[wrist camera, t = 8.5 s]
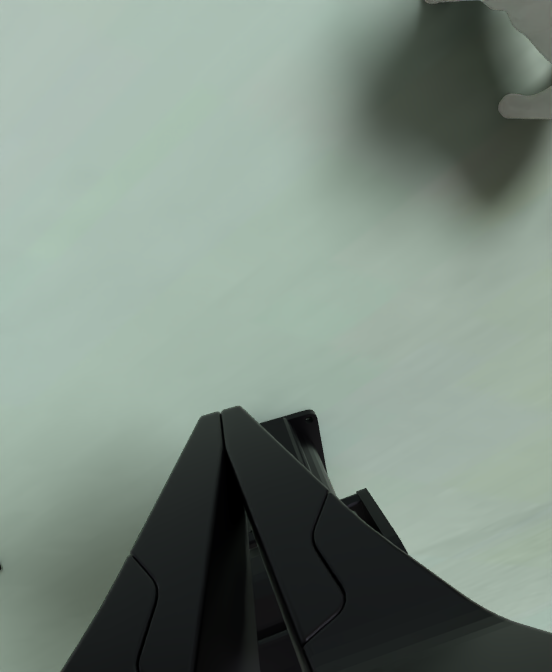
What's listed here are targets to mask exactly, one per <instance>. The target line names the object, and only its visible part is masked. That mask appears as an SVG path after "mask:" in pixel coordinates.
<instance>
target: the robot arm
mask: <svg viewBox="0 0 552 672" xmlns="http://www.w3.org/2000/svg"><path fill="white" fill-rule="evenodd" d="M308 417H311V418H310V419H308V420H306V418H308ZM130 554H131V555H129V556H128V557H127V559H126V561H125V563H124V565H123V567H122V569H121V571H120V572H119V574H118V576H117V578H116V580H115V582H114V584H113V585H112V587H111V589H110V591H109V593H108V594H107V596H106V598H105V600H104V602H103V604H102V605H101V607H100V609H99V611H98V612H97V614H96V615H95V617H94V619H93V620H92V622H91V624H90V625H89V627H88V629H87V630H86V632H85V633H84V635H83V637H82V638H81V640H80V642H79V643H78V645H77V647H76V648H75V650H74V651H73V653H72V654H71V656H70V658H69V659H68V661H67V662H66V664H65V665H64V667H63V669H62V670H61V672H552V633H550V632H546V631H543V630H540V629H537V628H533V627H530V626H527V625H523V624H520V623H517V622H514V621H511V620H509V619H506V618H504V617H502V616H499V615H497V614H495V613H493V612H491V611H489V610H487V609H485V608H484V607H482V606H480V605H479V604H477V603H475V602H474V601H472V600H471V599H469V598H468V597H466V596H465V595H463V594H462V593H460V592H459V591H458V590H456V589H455V588H453V587H452V586H451V585H449V584H448V583H446V582H445V581H444V580H442V579H441V578H440V577H438V576H437V575H435V574H434V573H433V572H431V571H430V570H429V569H427V568H426V567H424V566H423V565H422V564H420V563H419V562H417V561H416V560H415V559H413V558H412V557H411V556H409V555H408V553H407V551H406V549H405V547H404V546H403V544H402V542H401V540H400V539H399V537H398V535H397V534H396V532H395V531H394V529H393V528H392V526H391V525H390V523H389V522H388V520H387V519H386V517H385V516H384V514H383V513H382V511H381V510H380V508H379V507H378V505H377V504H376V502H375V501H374V499H373V498H372V496H371V495H370V493H369V492H368V490H367V489H366V488H365V489H362V490H359V491H357V492H356V494H354V495H351V496H349V497H346V498H343V499H341V500H340V499H338V498H337V496H336V494H335V491H334V489H333V487H332V484H331V482H330V480H329V477H328V475H327V470H326V465H325V459H324V453H323V448H322V442H321V437H320V431H319V425H318V420H317V416H316V414H315V412H314V411H313V410H305V411H301V412H298V413H294V414H291V415H287V416H284V417H281V418H277V419H274V420H270V421H267V422H263V423H260V424H259V423H258V422H257V421H256V420H255V419H254V418H253V417H252V416H251V415H249V414H248V413H247V412H246V411H245V410H244V409H243V408H242V407H241V406H235V407H231V408H228V409H224V410H223V411H222V412H221V413H220V412H214V413H210V414H207V415H203V416H201V417H200V419H199V420H198V422H197V424H196V426H195V428H194V430H193V432H192V434H191V436H190V438H189V440H188V442H187V444H186V446H185V447H184V449H183V451H182V453H181V455H180V457H179V459H178V461H177V463H176V465H175V467H174V469H173V471H172V473H171V474H170V476H169V478H168V480H167V482H166V484H165V486H164V488H163V490H162V492H161V494H160V496H159V498H158V500H157V501H156V503H155V505H154V507H153V509H152V511H151V513H150V515H149V517H148V519H147V521H146V523H145V525H144V527H143V528H142V530H141V532H140V534H139V536H138V538H137V540H136V542H135V544H134V546H133V548H132V550H131V552H130Z"/></svg>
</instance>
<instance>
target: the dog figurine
mask: <svg viewBox="0 0 552 672" xmlns="http://www.w3.org/2000/svg"><path fill="white" fill-rule="evenodd" d="M425 1H426V2H427V3H428V4H437V3H439V2H457V1H477V0H425ZM478 1H482V2H483V3H484V4H485V5H486V6H488V7H489V8H490V9H492V10H497V11H506V12H507V14H508V16H509V19H510V21H511V23H512V25H513V26H514V27H515V29H517V30H518V31H519V32H521V33H522V34H524V35H525V36H526V37H527V38H528V39H529V40H530V42H531V43H532V44H533V45H534V46H535V47H536V48H537V50H538V51H539V52H540V53H541V54H542V55H543V56H544V57H545V59H547V60H548V61H549V62H550V63H551V64H552V0H478ZM498 110H499V112H500V113H501V115H502V116H503V117H505V118H508V119H511V118H519V119H552V85H551V86H550V87H549V88H547V89H545V90H544V91H542V92H540V93H537V94H534V95H530V96H525V95H521V94H507V95H506V96H504V97H503V98H502V100H501V101H500V103H499V106H498Z"/></svg>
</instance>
